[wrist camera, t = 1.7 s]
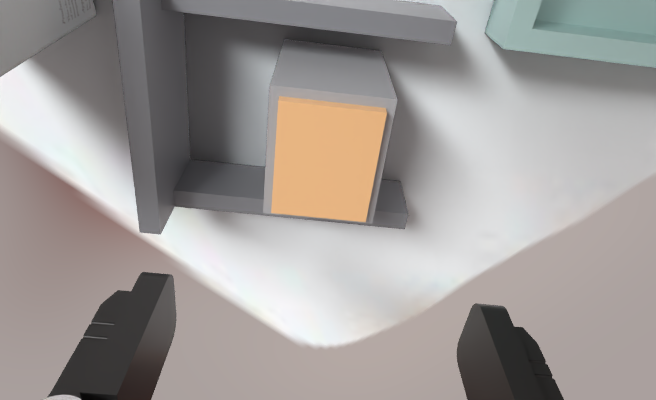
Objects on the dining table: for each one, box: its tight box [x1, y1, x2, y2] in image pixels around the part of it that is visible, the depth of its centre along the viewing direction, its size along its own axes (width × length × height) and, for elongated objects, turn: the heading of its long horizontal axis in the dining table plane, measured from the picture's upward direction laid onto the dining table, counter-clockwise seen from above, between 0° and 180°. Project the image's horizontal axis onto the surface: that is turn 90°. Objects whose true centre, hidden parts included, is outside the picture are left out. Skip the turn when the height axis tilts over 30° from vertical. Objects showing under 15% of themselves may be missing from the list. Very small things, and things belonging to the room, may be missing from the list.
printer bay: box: [113, 0, 457, 234], centre depth 23 cm, size 11×14×6 cm
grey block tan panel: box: [263, 39, 398, 224], centre depth 23 cm, size 6×5×8 cm
